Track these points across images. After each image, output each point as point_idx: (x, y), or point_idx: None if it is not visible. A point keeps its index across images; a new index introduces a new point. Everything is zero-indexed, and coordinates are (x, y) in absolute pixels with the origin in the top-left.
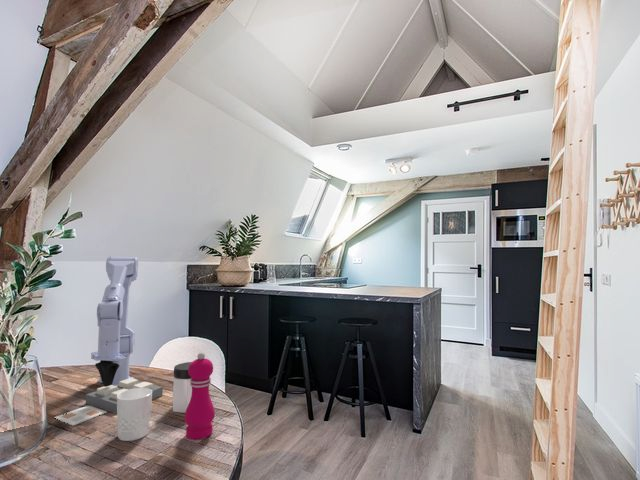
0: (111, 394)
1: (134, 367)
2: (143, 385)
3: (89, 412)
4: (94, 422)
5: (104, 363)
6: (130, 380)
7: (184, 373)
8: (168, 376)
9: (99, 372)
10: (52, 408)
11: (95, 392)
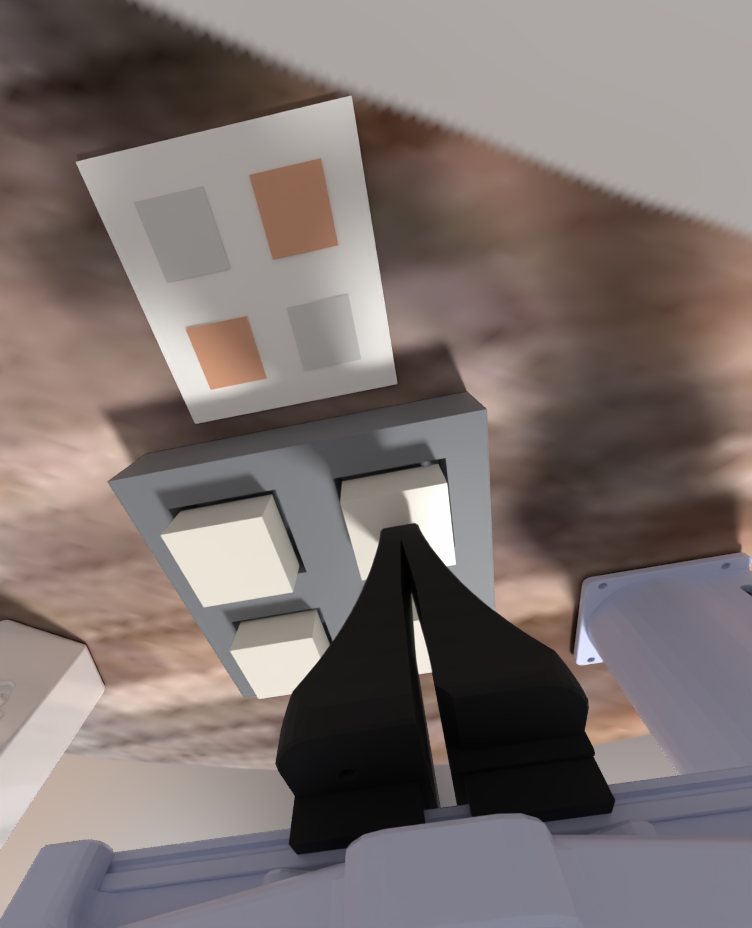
0: (261, 510)
1: None
2: (263, 666)
3: (249, 342)
4: (69, 309)
5: (398, 764)
6: (421, 654)
7: None
8: None
9: (467, 596)
10: (586, 180)
11: (465, 466)
